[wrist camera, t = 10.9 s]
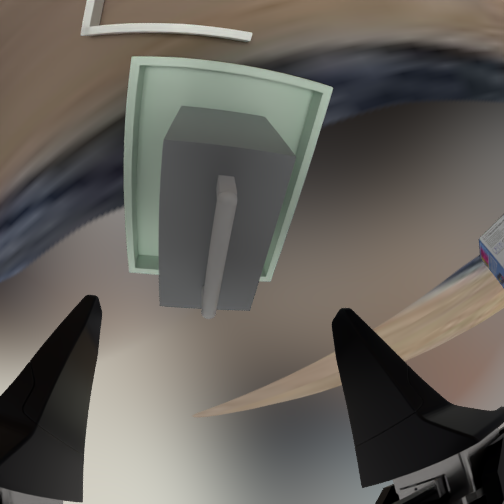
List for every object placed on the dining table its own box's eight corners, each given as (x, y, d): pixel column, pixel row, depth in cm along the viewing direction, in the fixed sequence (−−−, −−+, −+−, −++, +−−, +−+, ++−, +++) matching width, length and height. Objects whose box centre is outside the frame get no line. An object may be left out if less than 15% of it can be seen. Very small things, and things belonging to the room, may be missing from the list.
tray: (133, 255, 22) (129, 272, 20) (140, 55, 13) (131, 56, 11) (266, 264, 24) (270, 281, 23) (320, 83, 15) (333, 87, 14)
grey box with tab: (170, 230, 20) (157, 332, 13) (181, 105, 15) (155, 156, 8) (237, 236, 21) (254, 336, 15) (265, 116, 16) (310, 175, 9)
